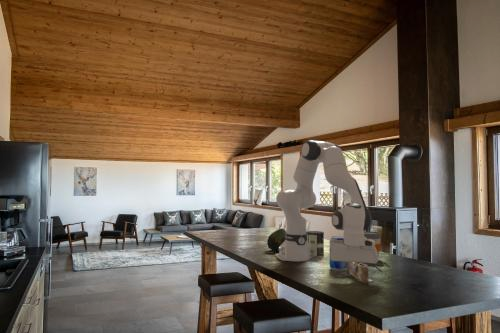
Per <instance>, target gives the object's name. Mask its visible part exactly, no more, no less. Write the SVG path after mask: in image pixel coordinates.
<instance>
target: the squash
mask: <svg viewBox="0 0 500 333" xmlns="http://www.w3.org/2000/svg"><path fill="white" fill-rule="evenodd" d="M286 233H287V231H285V229H284V228H279V229H276V230H275V231H273V232H272V233H270V234H269V235H268V238H267V241H266V244H267V246H268V249H270V250H271V251H272V252H273V253H279V247H280V245H281V244H282V243H283V242H284V241H285V236H286V235H285V234H286Z"/></svg>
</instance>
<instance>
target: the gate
mask: <svg viewBox="0 0 500 333" xmlns="http://www.w3.org/2000/svg"><path fill="white" fill-rule="evenodd" d="M359 264H360V263H359ZM359 264H358V265H357V267H356V270H355V271H356V272H352V271H351V270H352V269H351V266H350V264H349V262H346V270H345V272H346V273H348V274H351V275H352V276H353V277H355V278H356V279H360V280H362V282H361V283H363V282H366V283H370V282H369V279H370V278H369V267H368V266H367V267H363V266H362V265H359ZM352 266H353V267H354V266H355V264H354V262H353V265H352Z"/></svg>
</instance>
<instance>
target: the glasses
mask: <svg viewBox="0 0 500 333" xmlns="http://www.w3.org/2000/svg"><path fill="white" fill-rule="evenodd" d="M377 263H381V264H384V265H386V267H388V268H391V266H390V265H388V264H387V263H386V262H384V261H380V260H378V262H377ZM358 264H359V265H361V266H362V264H363V263H361V264H360V262H358ZM367 267H374V268H376V269H377V270H378V271H379V272H381V273H382V272H383V271H382V270H381V269H380V268H379V267H377V266H375V265H371V264H367Z"/></svg>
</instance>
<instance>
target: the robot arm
mask: <svg viewBox="0 0 500 333" xmlns="http://www.w3.org/2000/svg"><path fill="white" fill-rule="evenodd" d="M300 151H301V152H300V153H301V154H300V157H299V159H298V161H297V164H296V167H295V170H294V173H293V180H294V182H295V183H296V189H283V190H280V191H279V192H278V193H277V195H276V199H275V201H276V204H277V206H278V207H279V208H280V209H281V211H282V212H283V214H284V216H285V222H286V224H285V225H286V234H285V235H286V236H285V241H284V242H283V243H282V244H281V245H280V247H279V252H277V253H275V255H274V256H275V257H276V258H278V259H279V260H280V261H287V262H307V261H309V260H311V259H313V258H312V257H311V256H310V252H309V244H308V243H307V234H306V232H307V219H306V218H305V217H304V216H303V215H302V214H301V210H303V209H306V210H307V209H309V208H313V207H314V206H315V204H316V203H317V196H316V194H315V192H314V190H313V184H314V179H315V176H316V174H317V170H318V167H319V164H320V163H322V164H323V165H322V166H323V172H324V177H325V180H326V181H327V183H328V184H330V185H331V186H333V187H335V188H339V189H340V190H343V191H345V192H346V193H347V194H348V195H349V196H350V200H351V201H352V202H348V203H347V202H346V203H345V204H344V207H342V208H340V209H336V210H335V211H334V212H333V213H332V215H331V224H332V227H334V229H336V230H339V231H343V237H344V240H332V241H333V242H332V241H331V242H330V241H329V250H330V249H331V254H330V253H329V260H330V259H331V260H332V261H343V262H349V264H350V266H351V269H352V270H351V271H352V272H356V271H355V270H356V267H357V265H358V262H360V263H361V264H378V263H379V262H378V261H379V258H378V254H377V250H376V248H375V242H374V240H372V239H369V238H366V237H364V231H368V229H369V228H370V227H371V226H372V223H373V218H372V215H371V212H370V211H369V210H368V207H367V204H366V201H365V199H364V197H363V194H362V191H361V188H360V186H359V183H358V181H357V180H356V178H354V177H353V176H352V175H351V173H350V171H349V170H348V166H347V162H346V158H345V155H344V152H343V150H342V147H341V146H340V145H339V144H337V143H333V142H329V141H322V140H314V139H311V140H305V141H304V143H303V144H302V146H301V150H300ZM343 242H344V243H343ZM353 262H354V264H355V266H354V267H353V266H352V265H353ZM360 263H359V264H360Z"/></svg>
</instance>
